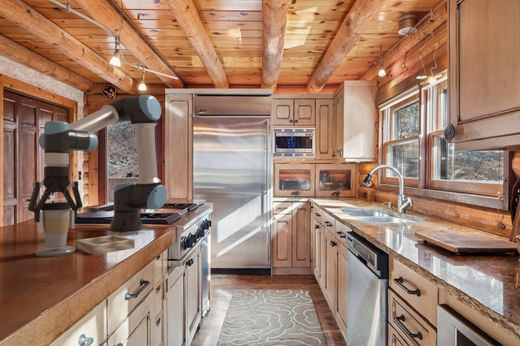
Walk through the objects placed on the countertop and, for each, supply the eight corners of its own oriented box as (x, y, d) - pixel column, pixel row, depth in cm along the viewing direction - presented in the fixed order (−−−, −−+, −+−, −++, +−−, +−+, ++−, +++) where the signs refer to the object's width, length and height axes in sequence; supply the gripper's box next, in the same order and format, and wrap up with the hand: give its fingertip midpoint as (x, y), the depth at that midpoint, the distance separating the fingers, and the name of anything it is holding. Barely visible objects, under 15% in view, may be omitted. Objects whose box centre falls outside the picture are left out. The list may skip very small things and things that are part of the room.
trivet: (67, 247, 129) (67, 244, 129) (81, 252, 121) (81, 249, 121) (30, 253, 120) (30, 249, 120) (42, 258, 112) (42, 255, 112)
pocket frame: (115, 242, 139) (115, 235, 139) (134, 247, 130) (134, 239, 130) (75, 248, 128) (75, 240, 128) (93, 254, 118) (93, 246, 118)
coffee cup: (44, 244, 124) (44, 202, 124) (74, 242, 127) (74, 201, 127) (36, 249, 115) (37, 204, 115) (68, 247, 118) (68, 203, 118)
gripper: (84, 166, 132) (84, 225, 132) (16, 165, 115) (15, 232, 115) (93, 166, 127) (93, 227, 127) (23, 164, 110) (22, 235, 110)
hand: (56, 230), depth 121 cm, fingers closed on coffee cup, 9 cm apart
